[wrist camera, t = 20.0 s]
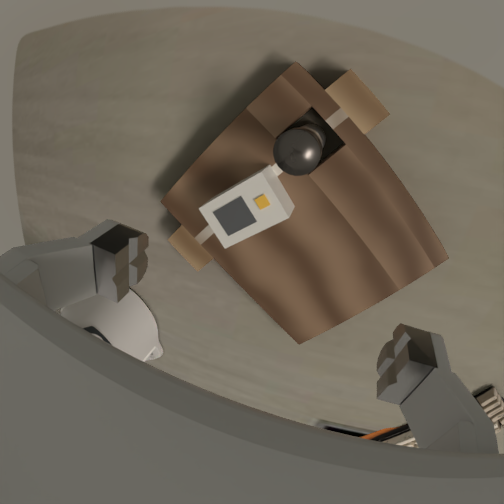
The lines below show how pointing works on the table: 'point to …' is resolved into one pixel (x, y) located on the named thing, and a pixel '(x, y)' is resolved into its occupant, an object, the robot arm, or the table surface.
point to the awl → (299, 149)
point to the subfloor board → (310, 210)
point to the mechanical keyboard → (488, 400)
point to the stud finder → (248, 207)
